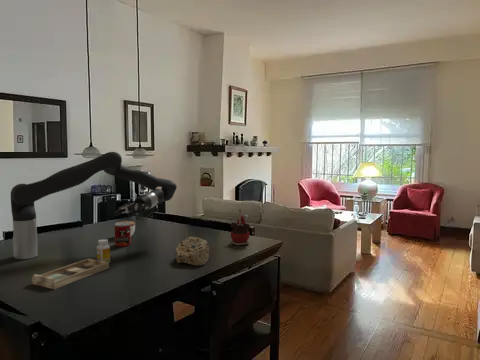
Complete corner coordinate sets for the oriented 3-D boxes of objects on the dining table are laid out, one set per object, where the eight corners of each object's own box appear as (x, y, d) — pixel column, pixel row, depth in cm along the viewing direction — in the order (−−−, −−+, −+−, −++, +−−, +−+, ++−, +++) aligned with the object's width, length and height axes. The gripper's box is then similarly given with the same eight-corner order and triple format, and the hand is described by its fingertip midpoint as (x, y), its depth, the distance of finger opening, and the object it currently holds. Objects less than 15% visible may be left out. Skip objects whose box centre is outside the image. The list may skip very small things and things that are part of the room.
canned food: (114, 247, 189) (114, 225, 188) (115, 243, 196) (114, 222, 195) (130, 246, 191) (130, 224, 190) (130, 242, 198) (130, 221, 197)
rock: (210, 267, 160) (204, 246, 158) (177, 275, 160) (171, 254, 158) (211, 249, 180) (206, 230, 178) (182, 256, 180) (176, 237, 178)
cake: (226, 244, 195) (226, 209, 193) (235, 240, 203) (235, 207, 201) (245, 246, 190) (245, 211, 188) (253, 242, 198) (253, 208, 196)
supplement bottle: (111, 260, 167) (111, 238, 167) (108, 264, 162) (107, 241, 161) (99, 260, 167) (98, 238, 166) (95, 264, 162) (94, 241, 161)
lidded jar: (138, 234, 216) (137, 218, 215) (131, 239, 205) (130, 222, 204) (120, 234, 217) (119, 218, 216) (112, 238, 206) (111, 221, 205)
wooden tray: (31, 284, 138) (31, 274, 138) (87, 264, 162) (87, 256, 162) (54, 289, 133) (54, 279, 133) (109, 267, 157) (108, 259, 156)
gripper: (134, 194, 186) (108, 206, 173) (155, 194, 179) (131, 207, 165) (137, 208, 188) (112, 221, 175) (159, 209, 181) (135, 223, 167)
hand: (121, 214), depth 170 cm, fingers open, 8 cm apart
